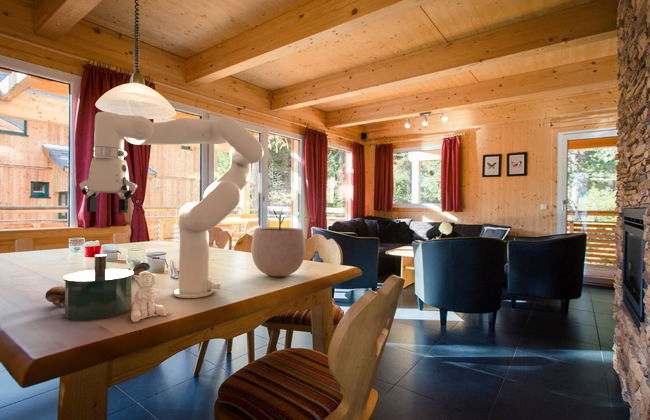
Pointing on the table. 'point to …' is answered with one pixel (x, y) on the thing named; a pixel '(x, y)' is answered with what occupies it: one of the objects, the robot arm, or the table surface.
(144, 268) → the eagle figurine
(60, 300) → the mushroom
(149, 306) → the seated beast figurine
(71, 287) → the pot
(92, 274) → the lid
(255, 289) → the table surface
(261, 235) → the plant pot
